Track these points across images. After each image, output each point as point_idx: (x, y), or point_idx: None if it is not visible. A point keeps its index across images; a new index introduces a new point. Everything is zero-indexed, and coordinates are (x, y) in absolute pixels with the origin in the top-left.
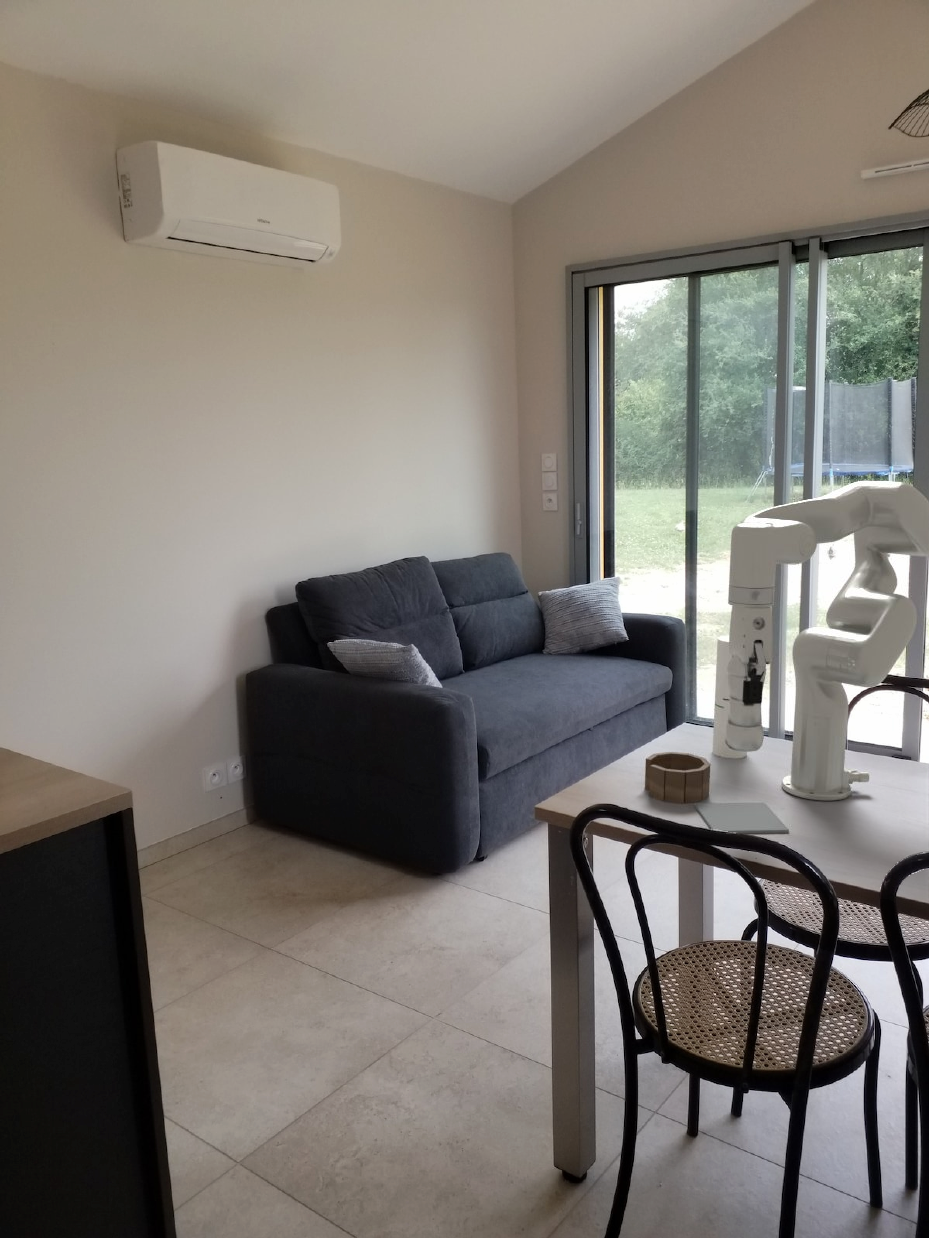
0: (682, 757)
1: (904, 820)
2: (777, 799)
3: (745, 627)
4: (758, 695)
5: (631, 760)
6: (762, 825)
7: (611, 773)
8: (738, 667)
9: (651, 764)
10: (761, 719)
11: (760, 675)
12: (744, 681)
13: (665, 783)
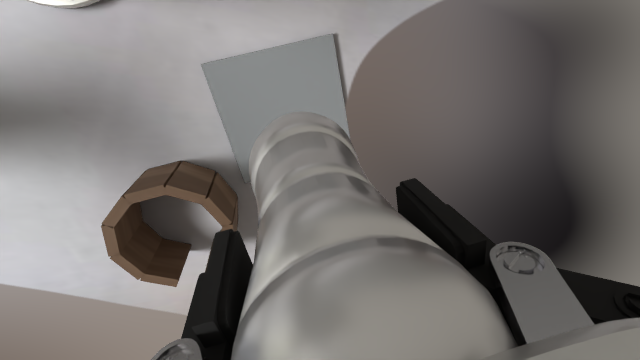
0: (118, 232)
1: None
2: (156, 31)
3: None
4: (455, 211)
5: (46, 285)
6: (320, 79)
7: (136, 297)
8: None
9: (176, 271)
10: (324, 139)
11: (606, 293)
12: None
13: None
